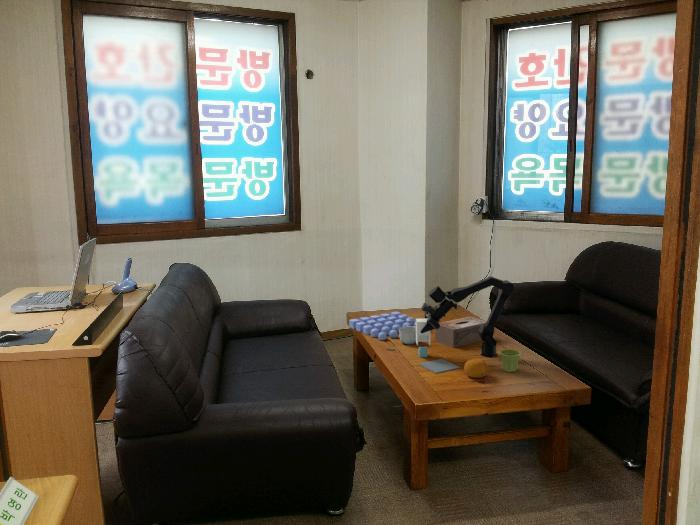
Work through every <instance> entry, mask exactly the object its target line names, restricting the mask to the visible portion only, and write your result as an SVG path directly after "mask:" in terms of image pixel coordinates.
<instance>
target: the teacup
mask: <svg viewBox="0 0 700 525" xmlns="http://www.w3.org/2000/svg"><path fill="white" fill-rule="evenodd" d="M398 337H399V340H400V342H402V343H403V344H405V345H414V344H416V327H414V326H406V327H401V328H400V329H399V333H398Z"/></svg>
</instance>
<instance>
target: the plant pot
mask: <svg viewBox="0 0 700 525" xmlns="http://www.w3.org/2000/svg"><path fill="white" fill-rule="evenodd" d="M499 354H500V357H501V363H502V370H503V371H504V372H506V373H512V372H513V373H515V372H516V371H517V369H518V363H519V360H520V356H521V354H522V353H521V351H519V350H516V349H511V348H510V349H509V348H508V349H506V348H505V349H502V350H500V351H499Z"/></svg>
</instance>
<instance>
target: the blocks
mask: <svg viewBox="0 0 700 525" xmlns="http://www.w3.org/2000/svg"><path fill="white" fill-rule="evenodd" d="M348 324H349V326H348V327H349V328H351V329H352V330H353V329H355V331H357V332H360V333H361V332H362V333H363V334H365V335H367V336H368V335H370V336H371V337H372V338H378V340H379V341H386V340H387V337H388V336H389V337H390V338H391V339H396V338H398V337H399V329H400V328H401V327H406V326H414V327H416V318H414V317H412V316H411V317H410V316H408V315H407V314H404V313H403V314H402V313H401V312H399V311H392V312H390V314H389V313H380V315H378V314H375V315H371V316H369V317H367V316H364V317H359V319H358V318H352V319H349V320H348Z"/></svg>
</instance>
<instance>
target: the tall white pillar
mask: <svg viewBox="0 0 700 525" xmlns="http://www.w3.org/2000/svg"><path fill="white" fill-rule="evenodd" d="M428 319H429V318H425V317H424V318H415V322H416V343H415V344H416V346H419V342H423V343H424V342H425V343H428V345H429V346H431V330H430V331H427V332H425V333H421V330H422V329H423V327H424V326H425V325H426V323H427V320H428Z"/></svg>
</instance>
